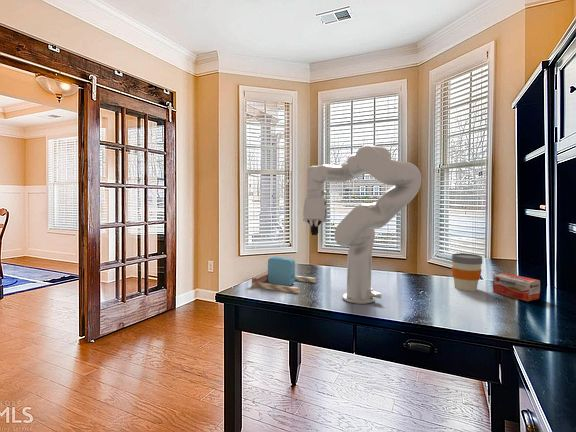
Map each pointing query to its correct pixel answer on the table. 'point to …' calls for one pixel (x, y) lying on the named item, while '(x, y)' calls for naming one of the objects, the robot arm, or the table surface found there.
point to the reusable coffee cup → (466, 271)
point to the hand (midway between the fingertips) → (314, 234)
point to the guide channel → (262, 282)
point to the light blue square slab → (281, 271)
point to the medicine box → (516, 286)
